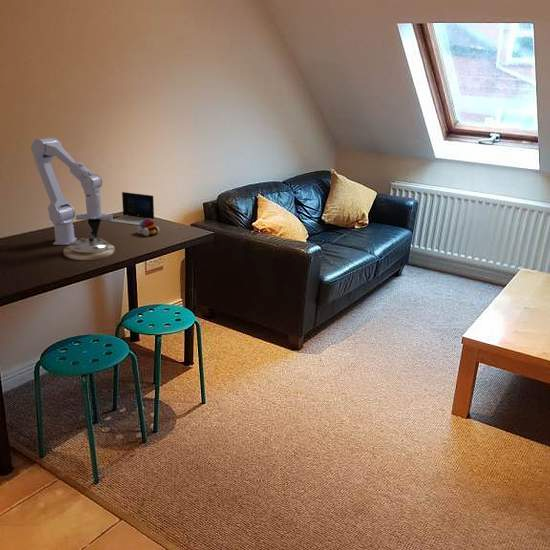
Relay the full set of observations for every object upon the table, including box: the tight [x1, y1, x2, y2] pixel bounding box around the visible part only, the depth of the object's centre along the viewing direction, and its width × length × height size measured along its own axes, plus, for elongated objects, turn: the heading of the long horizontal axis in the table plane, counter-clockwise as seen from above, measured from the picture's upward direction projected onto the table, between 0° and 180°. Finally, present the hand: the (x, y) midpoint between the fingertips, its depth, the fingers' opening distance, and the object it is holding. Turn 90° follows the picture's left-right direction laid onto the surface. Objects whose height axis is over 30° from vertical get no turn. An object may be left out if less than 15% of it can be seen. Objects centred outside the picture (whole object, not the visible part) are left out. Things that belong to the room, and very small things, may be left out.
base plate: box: [63, 243, 116, 261], centre depth 225 cm, size 20×20×2 cm
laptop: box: [109, 191, 155, 226], centre depth 273 cm, size 18×12×13 cm
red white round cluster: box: [136, 218, 160, 237], centre depth 253 cm, size 8×10×7 cm
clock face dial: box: [68, 230, 109, 254], centre depth 224 cm, size 15×15×6 cm
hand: (95, 236), depth 230 cm, fingers closed
